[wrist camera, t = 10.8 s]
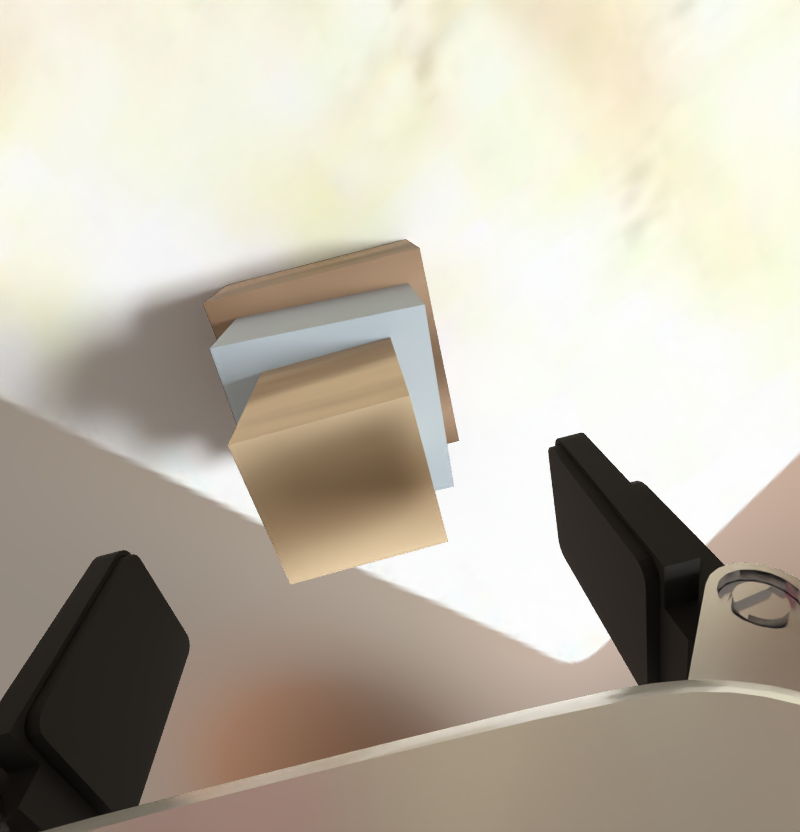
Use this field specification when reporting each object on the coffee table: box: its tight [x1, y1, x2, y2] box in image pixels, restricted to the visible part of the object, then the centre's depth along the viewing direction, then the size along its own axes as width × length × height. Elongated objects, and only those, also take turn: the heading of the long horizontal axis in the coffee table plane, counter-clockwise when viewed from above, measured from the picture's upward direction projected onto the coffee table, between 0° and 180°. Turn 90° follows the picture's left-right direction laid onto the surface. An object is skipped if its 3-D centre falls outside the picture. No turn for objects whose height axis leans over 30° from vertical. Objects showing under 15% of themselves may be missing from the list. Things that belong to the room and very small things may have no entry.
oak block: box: [228, 337, 448, 584], centre depth 17 cm, size 5×5×6 cm
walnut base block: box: [203, 239, 459, 444], centre depth 27 cm, size 10×10×6 cm
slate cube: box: [210, 283, 454, 490], centre depth 22 cm, size 8×8×5 cm
